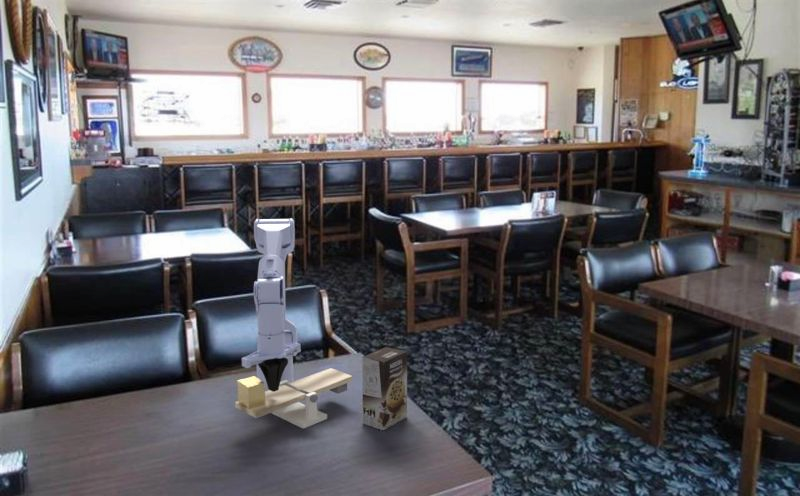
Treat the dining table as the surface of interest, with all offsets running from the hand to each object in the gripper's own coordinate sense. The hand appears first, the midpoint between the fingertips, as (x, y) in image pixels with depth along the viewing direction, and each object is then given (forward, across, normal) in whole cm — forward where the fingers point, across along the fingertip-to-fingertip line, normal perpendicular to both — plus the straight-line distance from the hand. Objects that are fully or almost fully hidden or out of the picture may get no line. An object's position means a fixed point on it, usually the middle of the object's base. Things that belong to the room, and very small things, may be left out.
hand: (273, 389), depth 147 cm
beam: (+5, +7, 0) cm, 8 cm away
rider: (-1, -3, +1) cm, 3 cm away
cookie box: (+8, +18, -17) cm, 27 cm away
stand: (+8, +6, 0) cm, 11 cm away
